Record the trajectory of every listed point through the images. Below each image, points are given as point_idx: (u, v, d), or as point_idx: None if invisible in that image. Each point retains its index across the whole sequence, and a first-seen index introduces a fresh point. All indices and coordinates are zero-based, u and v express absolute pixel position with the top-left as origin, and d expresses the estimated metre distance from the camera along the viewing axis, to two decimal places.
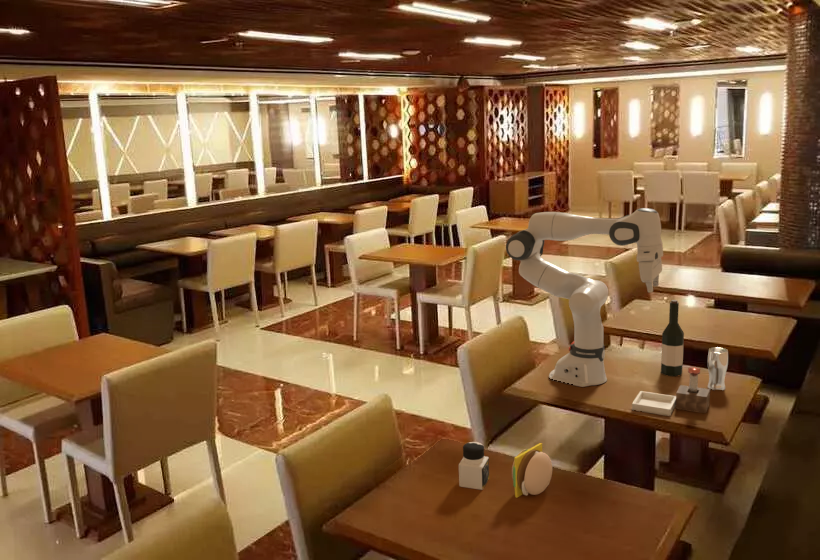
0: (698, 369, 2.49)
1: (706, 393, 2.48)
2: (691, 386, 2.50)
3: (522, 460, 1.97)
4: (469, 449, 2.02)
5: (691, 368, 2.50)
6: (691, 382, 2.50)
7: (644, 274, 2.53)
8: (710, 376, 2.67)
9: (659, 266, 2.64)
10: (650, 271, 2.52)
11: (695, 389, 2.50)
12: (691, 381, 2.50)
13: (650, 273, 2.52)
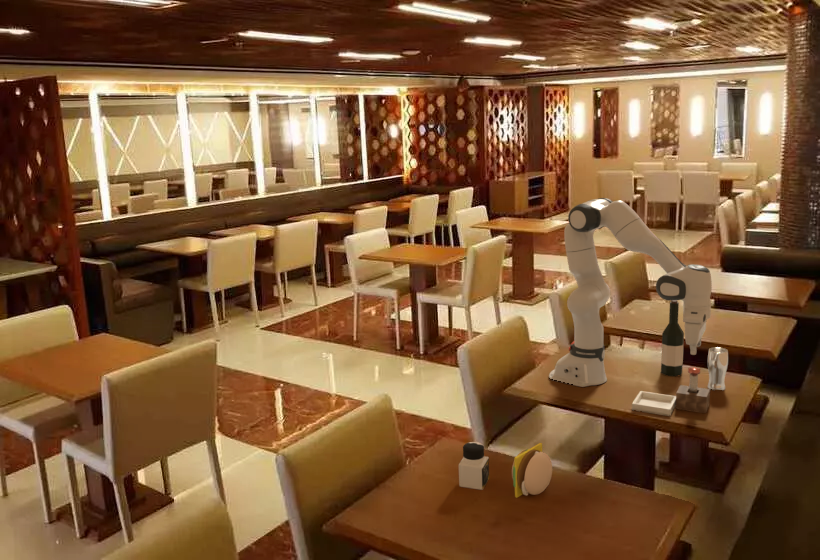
0: (698, 369, 2.49)
1: (706, 393, 2.48)
2: (691, 386, 2.50)
3: (522, 460, 1.97)
4: (469, 449, 2.02)
5: (691, 368, 2.50)
6: (691, 382, 2.50)
7: (689, 336, 2.38)
8: (710, 376, 2.67)
9: (704, 326, 2.50)
10: (697, 334, 2.37)
11: (695, 389, 2.50)
12: (691, 381, 2.50)
13: (696, 336, 2.37)
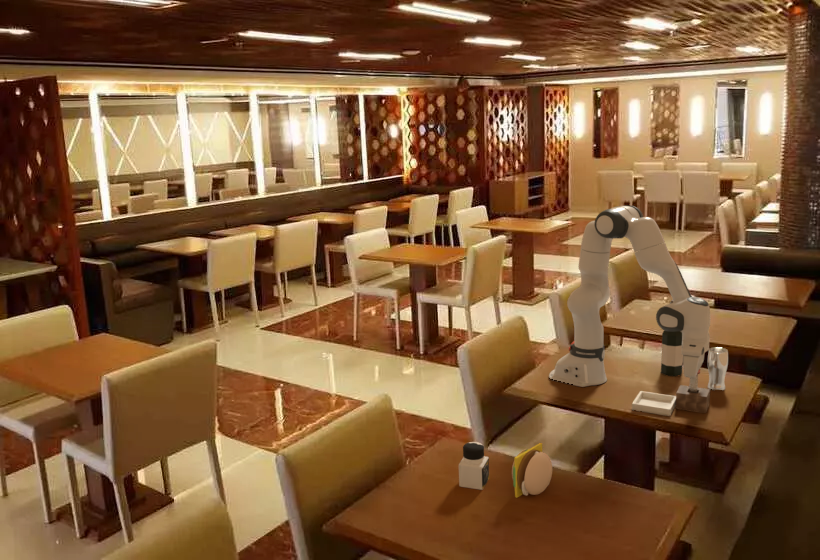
0: None
1: (706, 393, 2.48)
2: (691, 386, 2.50)
3: (522, 460, 1.97)
4: (469, 449, 2.02)
5: None
6: None
7: (688, 369, 2.41)
8: (710, 376, 2.67)
9: (702, 357, 2.52)
10: (695, 367, 2.40)
11: (695, 389, 2.50)
12: None
13: (695, 369, 2.40)
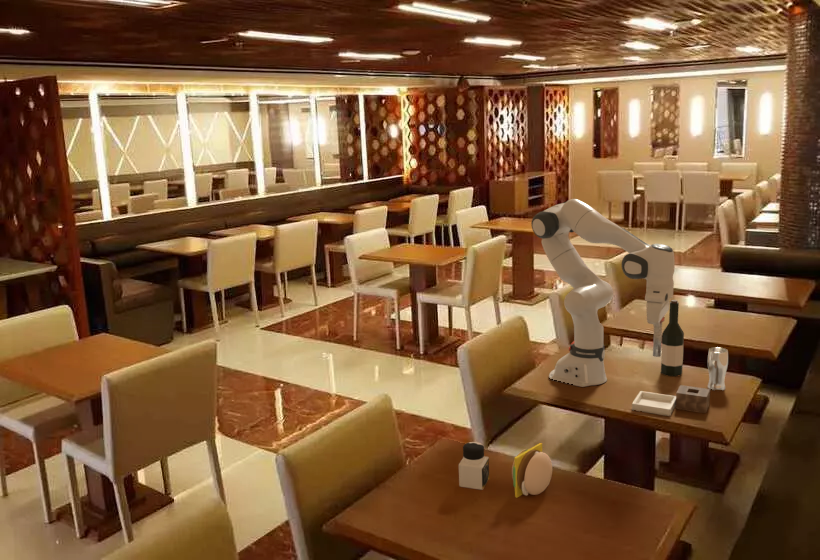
0: None
1: (706, 393, 2.48)
2: (655, 334, 2.48)
3: (522, 460, 1.97)
4: (469, 449, 2.02)
5: None
6: None
7: (651, 315, 2.38)
8: (710, 376, 2.67)
9: (666, 306, 2.50)
10: (658, 313, 2.37)
11: (659, 337, 2.48)
12: None
13: (658, 315, 2.37)
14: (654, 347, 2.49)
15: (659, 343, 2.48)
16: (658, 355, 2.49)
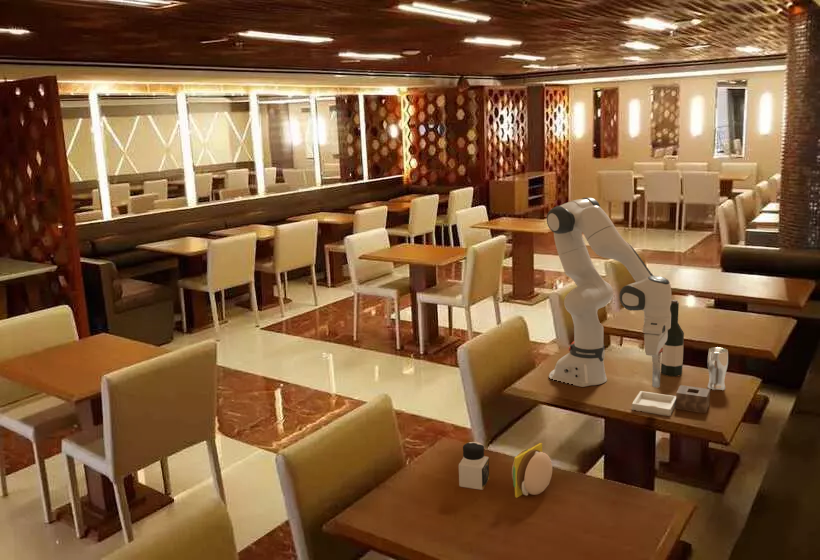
0: (661, 348, 2.49)
1: (706, 393, 2.48)
2: (654, 365, 2.50)
3: (522, 460, 1.97)
4: (469, 449, 2.02)
5: None
6: None
7: (649, 347, 2.41)
8: (710, 376, 2.67)
9: (665, 336, 2.52)
10: (656, 345, 2.40)
11: (658, 368, 2.50)
12: None
13: (655, 347, 2.40)
14: (653, 378, 2.51)
15: (658, 374, 2.50)
16: (657, 385, 2.51)
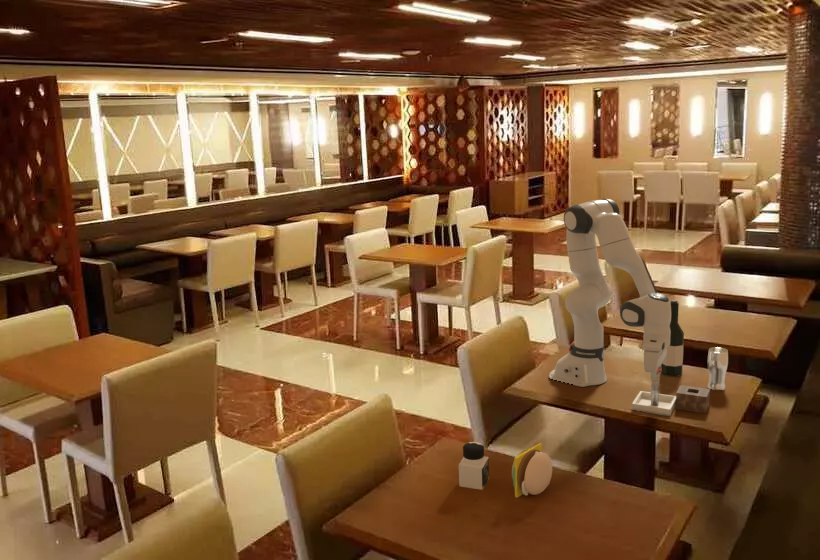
0: (659, 367, 2.50)
1: (706, 393, 2.48)
2: (653, 384, 2.52)
3: (522, 460, 1.97)
4: (469, 449, 2.02)
5: None
6: (653, 380, 2.51)
7: (648, 364, 2.42)
8: (710, 376, 2.67)
9: (664, 353, 2.54)
10: (655, 362, 2.41)
11: (657, 387, 2.51)
12: None
13: (655, 364, 2.41)
14: (652, 397, 2.53)
15: (657, 393, 2.52)
16: (656, 404, 2.53)
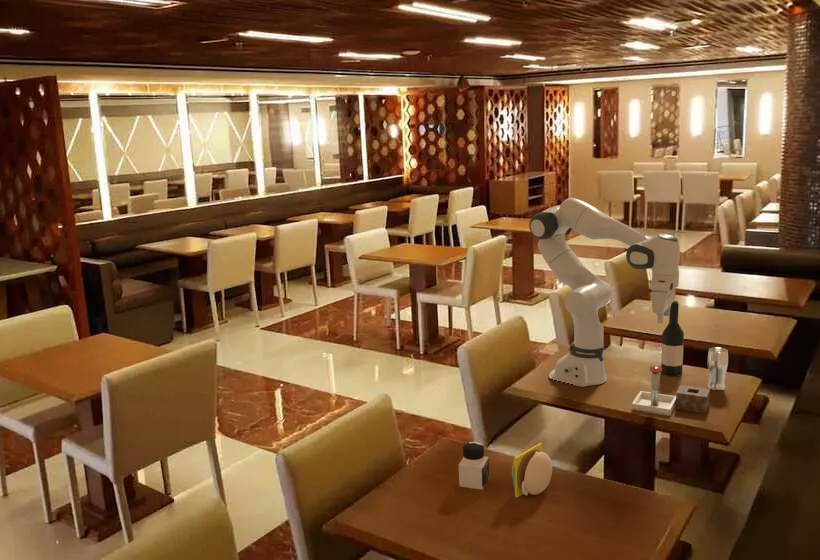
0: (660, 367, 2.51)
1: (706, 393, 2.48)
2: (653, 384, 2.52)
3: (522, 460, 1.97)
4: (469, 449, 2.02)
5: (653, 366, 2.52)
6: (653, 380, 2.52)
7: (656, 304, 2.41)
8: (710, 376, 2.67)
9: (672, 295, 2.52)
10: (663, 302, 2.40)
11: (657, 387, 2.52)
12: (653, 379, 2.51)
13: (663, 304, 2.40)
14: (652, 396, 2.53)
15: (657, 393, 2.52)
16: (656, 404, 2.53)
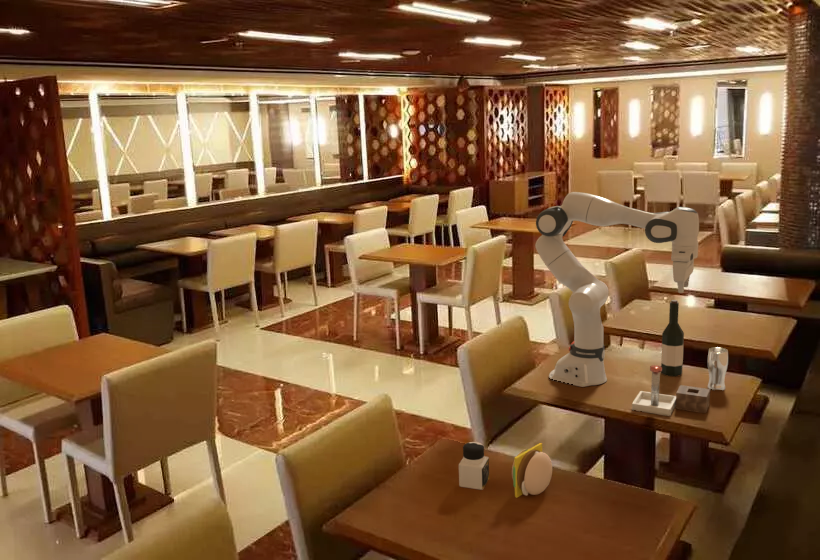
0: (660, 367, 2.51)
1: (706, 393, 2.48)
2: (653, 384, 2.52)
3: (522, 460, 1.97)
4: (469, 449, 2.02)
5: (653, 366, 2.52)
6: (653, 380, 2.52)
7: (677, 274, 2.49)
8: (710, 376, 2.67)
9: (691, 267, 2.61)
10: (684, 272, 2.48)
11: (657, 387, 2.52)
12: (653, 379, 2.52)
13: (684, 274, 2.48)
14: (652, 396, 2.53)
15: (657, 393, 2.52)
16: (656, 404, 2.53)
